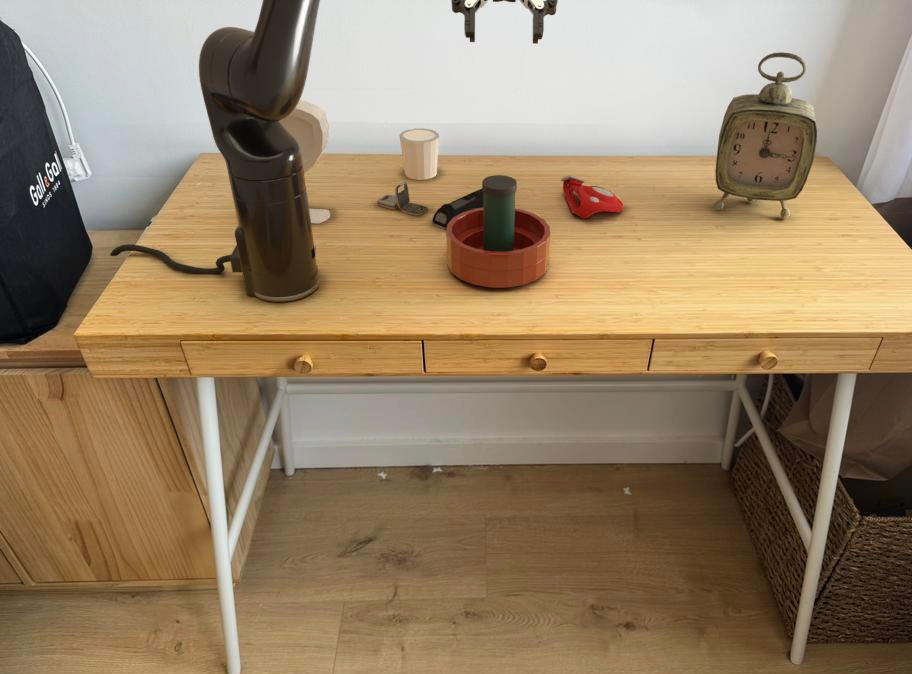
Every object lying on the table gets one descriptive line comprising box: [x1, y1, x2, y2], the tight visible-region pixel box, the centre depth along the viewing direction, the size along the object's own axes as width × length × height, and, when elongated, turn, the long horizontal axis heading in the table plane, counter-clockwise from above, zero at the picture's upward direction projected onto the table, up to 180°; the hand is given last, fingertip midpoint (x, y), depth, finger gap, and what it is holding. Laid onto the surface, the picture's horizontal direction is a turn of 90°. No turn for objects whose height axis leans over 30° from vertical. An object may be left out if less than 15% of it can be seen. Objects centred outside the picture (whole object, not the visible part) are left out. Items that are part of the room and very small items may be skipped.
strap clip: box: [376, 181, 429, 216], centre depth 132 cm, size 8×3×4 cm, turn 62°
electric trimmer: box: [432, 187, 483, 230], centre depth 132 cm, size 4×16×3 cm, turn 141°
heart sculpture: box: [280, 99, 331, 225], centre depth 125 cm, size 16×5×18 cm, turn 85°
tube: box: [481, 174, 518, 252], centre depth 114 cm, size 5×5×12 cm
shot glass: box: [399, 127, 440, 181], centre depth 142 cm, size 7×7×7 cm
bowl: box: [445, 207, 551, 289], centre depth 117 cm, size 15×15×6 cm
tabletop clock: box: [713, 51, 818, 219], centre depth 129 cm, size 14×9×25 cm, turn 76°
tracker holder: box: [560, 175, 624, 219], centre depth 134 cm, size 12×4×10 cm
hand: (504, 39), depth 109 cm, fingers open, 8 cm apart
